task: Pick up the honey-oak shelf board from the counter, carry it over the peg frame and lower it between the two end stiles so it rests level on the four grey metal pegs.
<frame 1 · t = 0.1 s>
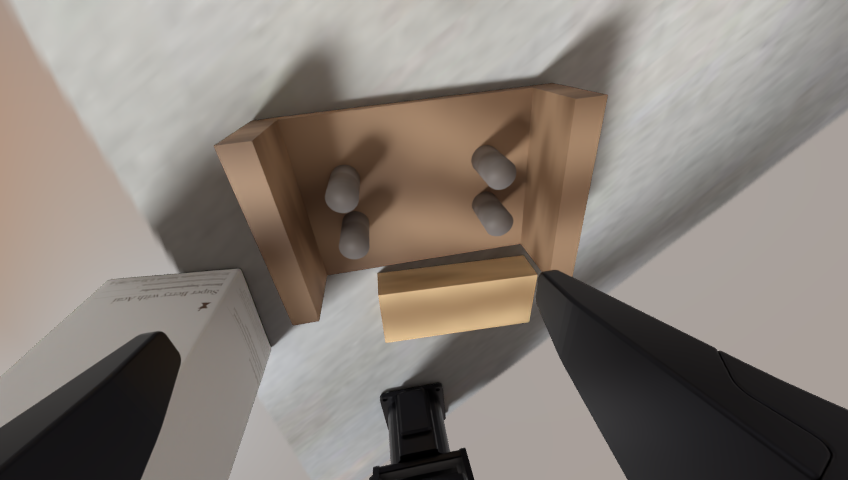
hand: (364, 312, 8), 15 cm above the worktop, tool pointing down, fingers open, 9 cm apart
shelf board: (451, 285, 28), on the worktop
peg frame: (417, 187, 22), on the worktop
supplement box: (199, 314, 25), on the worktop
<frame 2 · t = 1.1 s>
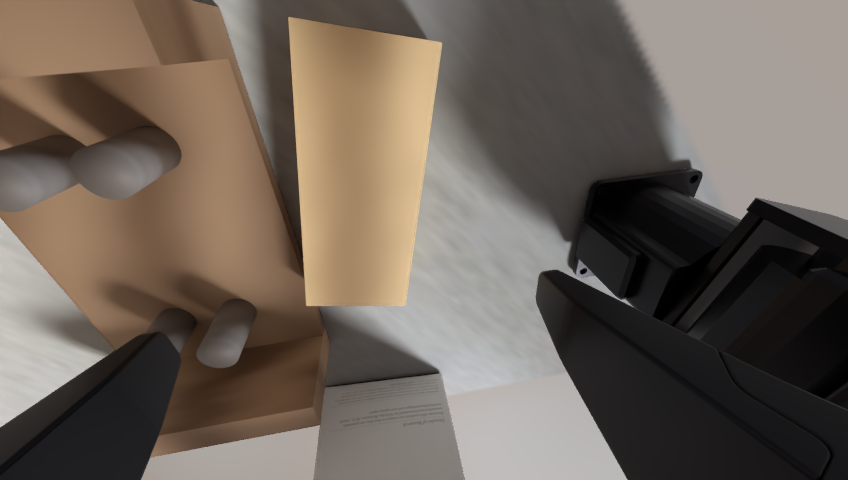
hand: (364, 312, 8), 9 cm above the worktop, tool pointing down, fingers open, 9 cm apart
shelf board: (362, 174, 16), on the worktop
peg frame: (176, 238, 16), on the worktop
supplement box: (385, 409, 26), on the worktop
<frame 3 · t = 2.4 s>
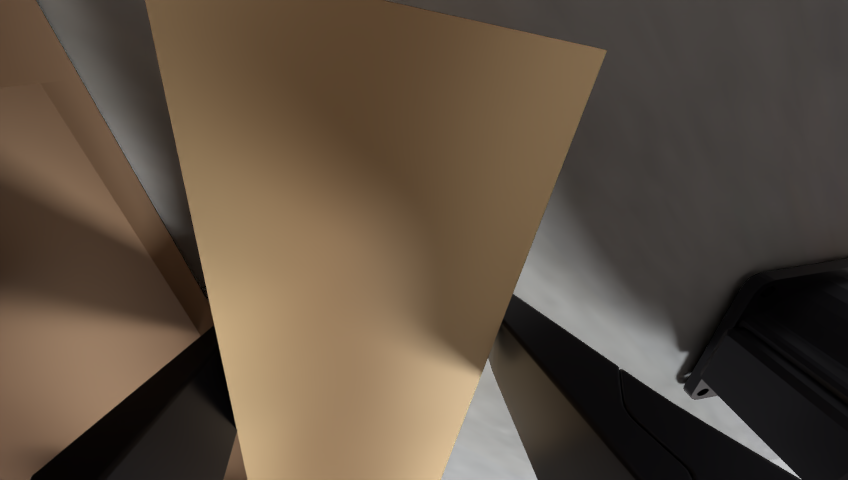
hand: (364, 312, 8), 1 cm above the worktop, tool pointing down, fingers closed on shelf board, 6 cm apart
shelf board: (365, 279, 9), on the worktop, touching gripper
peg frame: (35, 392, 9), on the worktop
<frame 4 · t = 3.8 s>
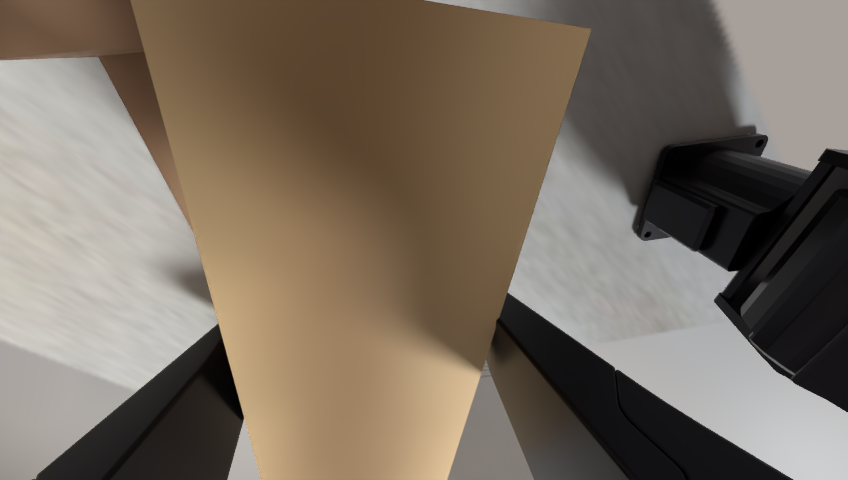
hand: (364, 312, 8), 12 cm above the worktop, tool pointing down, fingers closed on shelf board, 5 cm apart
shelf board: (368, 274, 9), point 10 cm above the worktop, touching gripper
peg frame: (293, 197, 18), on the worktop
supplement box: (448, 372, 28), on the worktop
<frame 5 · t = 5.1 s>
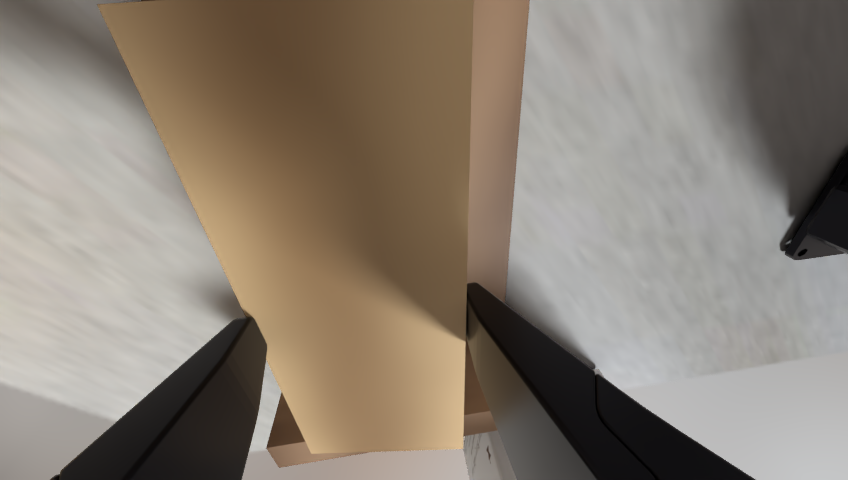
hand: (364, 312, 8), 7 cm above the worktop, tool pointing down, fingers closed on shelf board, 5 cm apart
shelf board: (373, 248, 10), point 4 cm above the worktop, tilted 7°, touching gripper, peg frame
peg frame: (379, 199, 13), on the worktop
supplement box: (523, 408, 24), on the worktop
when the fingers open (7 cm above the worktop, at t = 5.3 s): shelf board stays where it is, resting on peg frame.
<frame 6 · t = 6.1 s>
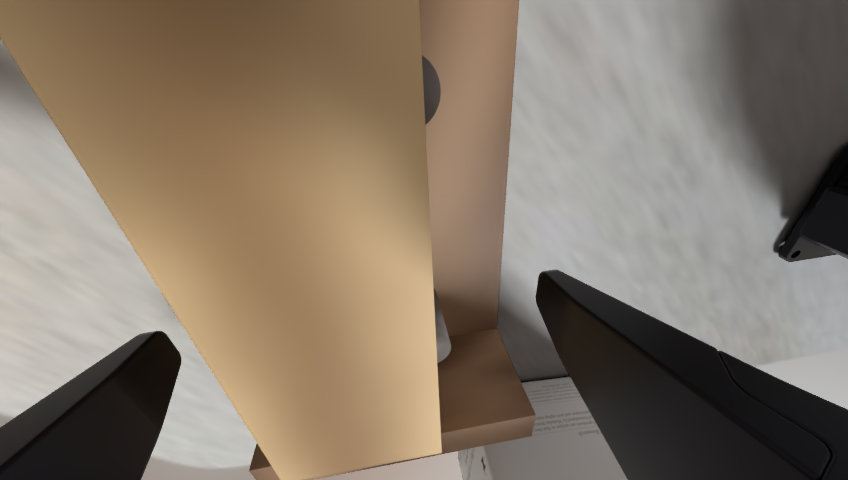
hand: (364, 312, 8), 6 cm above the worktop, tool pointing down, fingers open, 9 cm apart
shelf board: (334, 259, 10), point 4 cm above the worktop, touching peg frame
peg frame: (366, 206, 13), on the worktop
supplement box: (518, 414, 23), on the worktop
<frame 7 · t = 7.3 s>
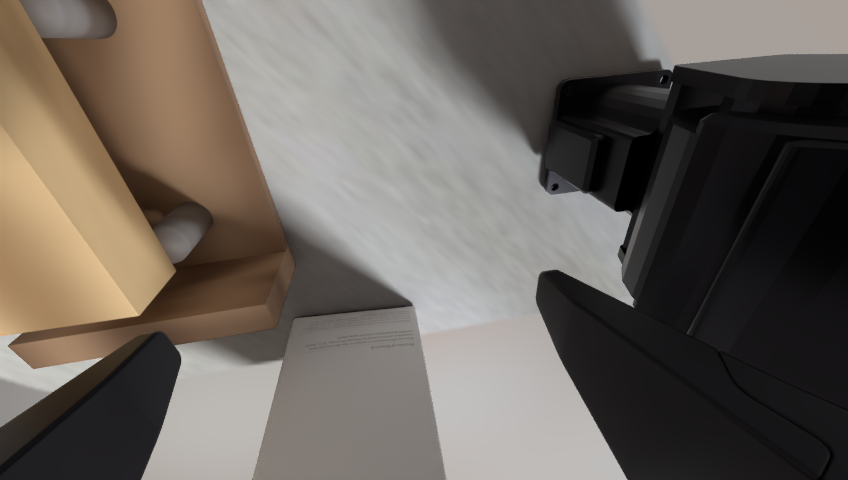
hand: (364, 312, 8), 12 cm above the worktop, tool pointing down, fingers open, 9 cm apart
shelf board: (29, 151, 12), point 4 cm above the worktop, touching peg frame
peg frame: (123, 131, 15), on the worktop
supplement box: (360, 349, 26), on the worktop
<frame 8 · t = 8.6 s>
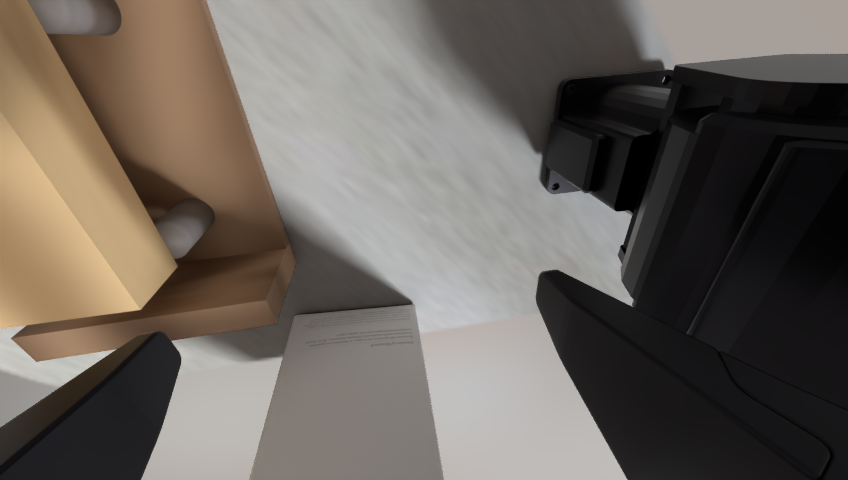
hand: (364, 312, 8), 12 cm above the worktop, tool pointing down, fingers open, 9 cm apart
shelf board: (34, 146, 12), point 4 cm above the worktop, touching peg frame
peg frame: (127, 127, 15), on the worktop
supplement box: (360, 346, 26), on the worktop
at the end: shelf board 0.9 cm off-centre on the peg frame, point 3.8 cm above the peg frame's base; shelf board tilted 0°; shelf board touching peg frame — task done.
